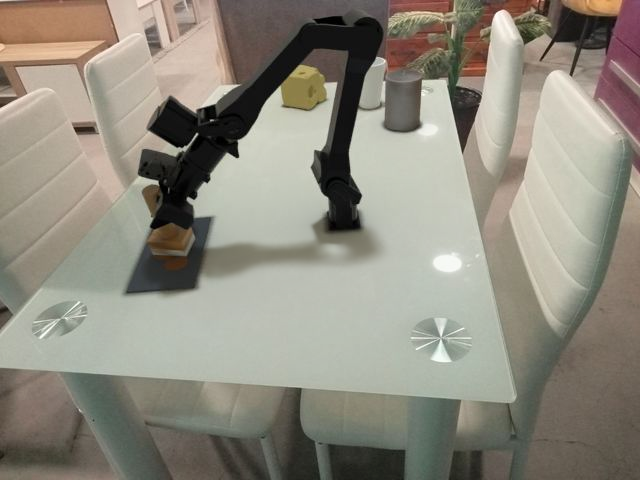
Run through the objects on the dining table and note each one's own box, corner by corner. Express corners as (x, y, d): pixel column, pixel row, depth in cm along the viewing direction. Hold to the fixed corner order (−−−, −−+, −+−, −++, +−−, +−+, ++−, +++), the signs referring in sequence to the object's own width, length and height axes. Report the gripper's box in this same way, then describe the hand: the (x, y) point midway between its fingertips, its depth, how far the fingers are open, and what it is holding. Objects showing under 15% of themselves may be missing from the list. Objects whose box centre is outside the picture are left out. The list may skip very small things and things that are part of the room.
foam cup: (350, 102, 150) (348, 59, 142) (377, 97, 151) (377, 54, 144) (361, 112, 142) (360, 68, 134) (389, 107, 144) (390, 63, 136)
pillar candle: (409, 114, 139) (412, 62, 130) (425, 127, 131) (429, 72, 122) (378, 121, 137) (379, 67, 128) (393, 134, 129) (394, 78, 120)
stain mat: (193, 287, 85) (193, 286, 85) (126, 292, 85) (125, 291, 85) (211, 217, 102) (210, 216, 102) (155, 222, 102) (155, 220, 102)
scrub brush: (195, 238, 95) (174, 181, 85) (186, 256, 91) (163, 199, 82) (163, 237, 96) (138, 180, 87) (152, 254, 93) (126, 198, 83)
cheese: (327, 99, 153) (325, 67, 147) (308, 111, 146) (306, 78, 140) (300, 94, 158) (297, 63, 152) (281, 106, 151) (277, 74, 145)
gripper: (160, 114, 87) (117, 176, 92) (154, 160, 72) (103, 232, 77) (212, 147, 93) (169, 204, 98) (216, 196, 78) (165, 260, 83)
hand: (152, 222), depth 89 cm, fingers closed on scrub brush, 3 cm apart
